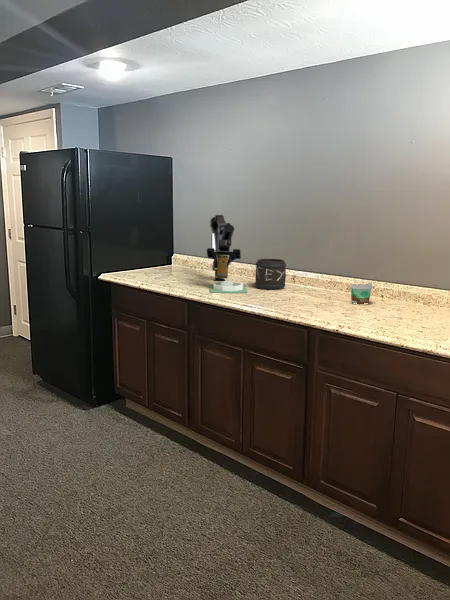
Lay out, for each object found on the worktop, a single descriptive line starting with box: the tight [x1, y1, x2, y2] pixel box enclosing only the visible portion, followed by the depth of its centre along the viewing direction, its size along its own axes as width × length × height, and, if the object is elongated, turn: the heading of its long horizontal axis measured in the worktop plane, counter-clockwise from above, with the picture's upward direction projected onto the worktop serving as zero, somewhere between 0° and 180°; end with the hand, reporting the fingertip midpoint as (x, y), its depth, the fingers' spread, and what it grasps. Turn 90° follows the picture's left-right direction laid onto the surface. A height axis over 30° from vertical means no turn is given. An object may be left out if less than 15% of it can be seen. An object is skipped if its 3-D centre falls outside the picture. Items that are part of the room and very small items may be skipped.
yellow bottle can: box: [213, 255, 233, 280], centre depth 285 cm, size 7×8×12 cm
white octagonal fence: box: [213, 281, 244, 291], centre depth 288 cm, size 16×16×2 cm
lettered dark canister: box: [254, 258, 287, 291], centre depth 293 cm, size 18×18×16 cm
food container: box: [349, 282, 374, 304], centre depth 254 cm, size 12×6×10 cm, turn 117°
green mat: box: [209, 284, 248, 294], centre depth 288 cm, size 22×20×1 cm
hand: (221, 265), depth 284 cm, fingers closed on yellow bottle can, 6 cm apart
